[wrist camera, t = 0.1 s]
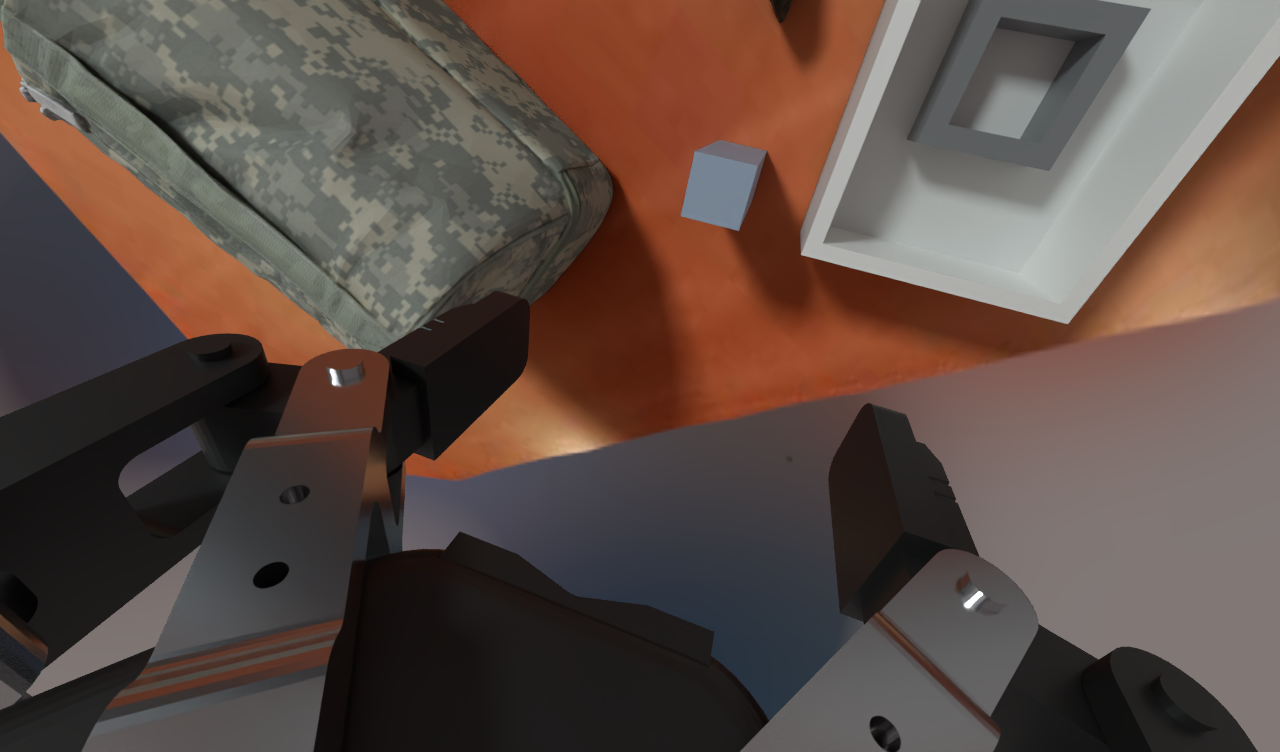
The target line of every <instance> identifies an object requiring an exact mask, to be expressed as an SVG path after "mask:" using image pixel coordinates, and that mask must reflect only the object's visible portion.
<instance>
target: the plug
mask: <svg viewBox="0 0 1280 752" xmlns="http://www.w3.org/2000/svg"><path fill="white" fill-rule="evenodd" d="M766 153H767V151H766V150H762V149H757V148H753V147H748V146H744V145H740V144H735V143H731V142H726V141H722V140H718V141H716V142H714V143H712V144H710V145H707V146H705V147H703V148H701V149H699V150H697V151H695V153H694V158H693V163H692V167H691V172H690V176H689V181H688V185H687V190H686V194H685V199H684V204H683V208H682V213H681V216H682V217H686V218H690V219H694V220H698V221H702V222H706V223H710V224H714V225H717V226H721V227H725V228H729V229H733V230H737V231H739V229H740V227H741V225H742V223H743V220H744V218H745V216H746V214H747V211H748V209H749V207H750V205H751V202H752V200H753V196H754V193H755V190H756V186H757V183H758V180H759V176H760V173H761V170H762V166H763V163H764V160H765V156H766Z"/></svg>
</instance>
